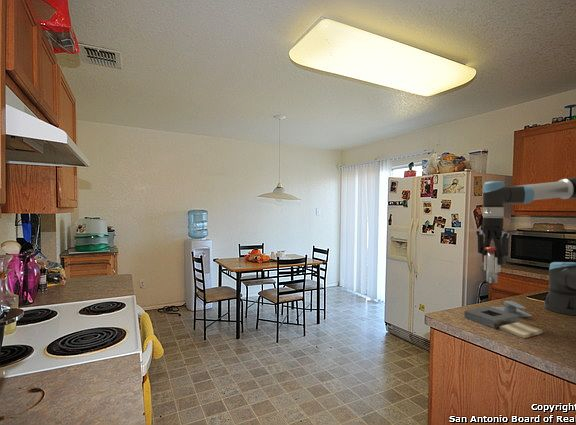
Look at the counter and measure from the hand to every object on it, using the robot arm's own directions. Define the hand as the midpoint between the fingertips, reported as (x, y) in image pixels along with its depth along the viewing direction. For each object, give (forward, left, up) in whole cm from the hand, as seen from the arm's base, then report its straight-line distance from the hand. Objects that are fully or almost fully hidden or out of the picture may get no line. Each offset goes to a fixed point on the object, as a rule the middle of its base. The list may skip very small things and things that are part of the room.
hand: (492, 271), depth 134 cm
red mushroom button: (0, 0, -5) cm, 5 cm away
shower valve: (-17, -2, -22) cm, 28 cm away
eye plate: (0, 0, -21) cm, 21 cm away
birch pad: (+1, +12, -21) cm, 25 cm away
